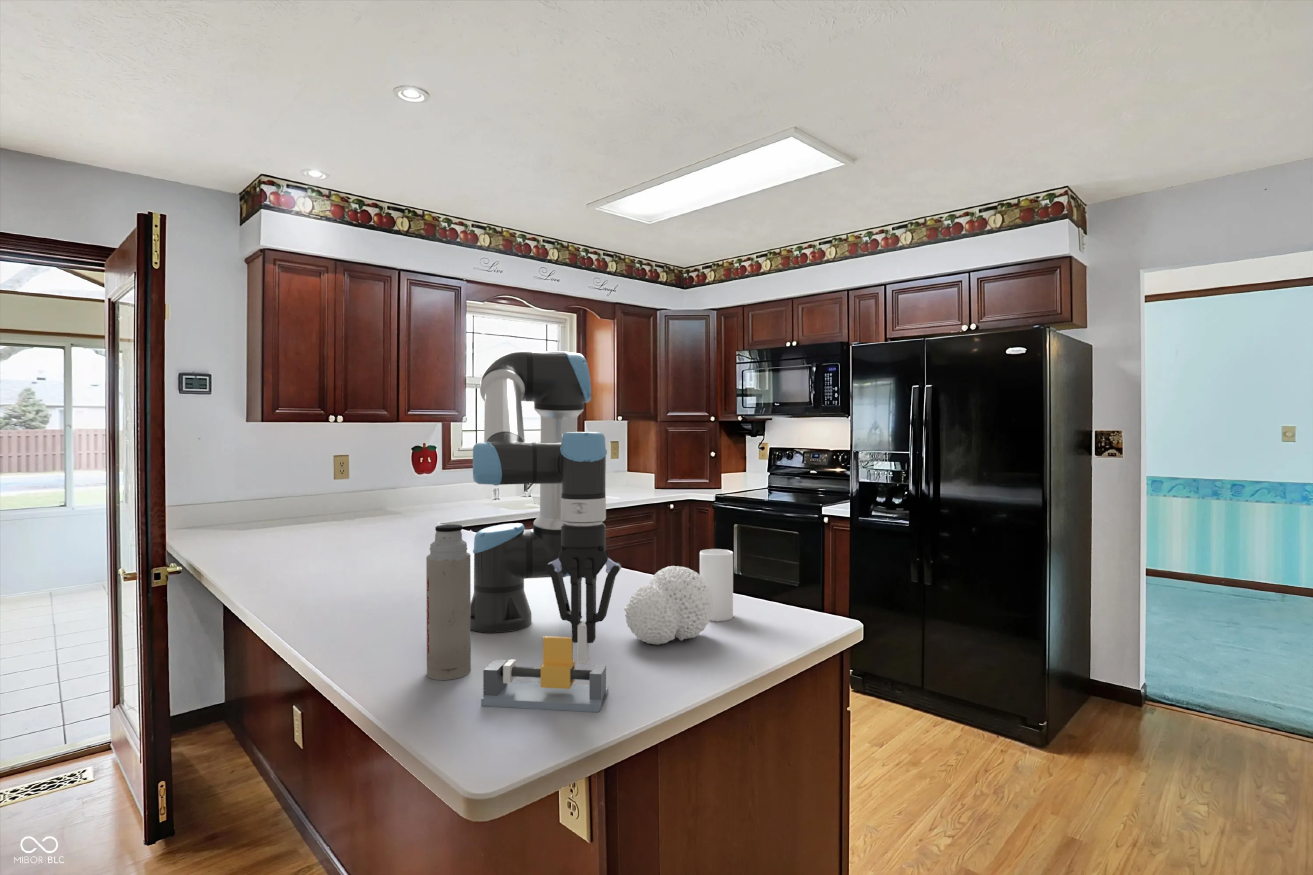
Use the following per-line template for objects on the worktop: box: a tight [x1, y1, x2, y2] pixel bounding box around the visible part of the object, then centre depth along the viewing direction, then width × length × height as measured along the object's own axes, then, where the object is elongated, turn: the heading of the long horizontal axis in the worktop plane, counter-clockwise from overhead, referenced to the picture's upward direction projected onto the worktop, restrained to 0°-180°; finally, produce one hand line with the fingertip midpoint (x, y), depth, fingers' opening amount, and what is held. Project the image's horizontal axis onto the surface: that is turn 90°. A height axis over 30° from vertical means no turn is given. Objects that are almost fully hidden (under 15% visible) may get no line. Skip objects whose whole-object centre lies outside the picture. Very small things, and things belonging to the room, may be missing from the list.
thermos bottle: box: [425, 524, 472, 681], centre depth 127 cm, size 8×8×28 cm
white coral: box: [623, 565, 713, 646], centre depth 147 cm, size 20×18×16 cm
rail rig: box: [480, 659, 609, 713], centre depth 114 cm, size 20×8×6 cm, turn 83°
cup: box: [699, 548, 734, 622], centre depth 165 cm, size 8×8×16 cm
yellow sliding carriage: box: [540, 635, 576, 689], centre depth 114 cm, size 5×4×8 cm
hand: (583, 661), depth 113 cm, fingers closed
